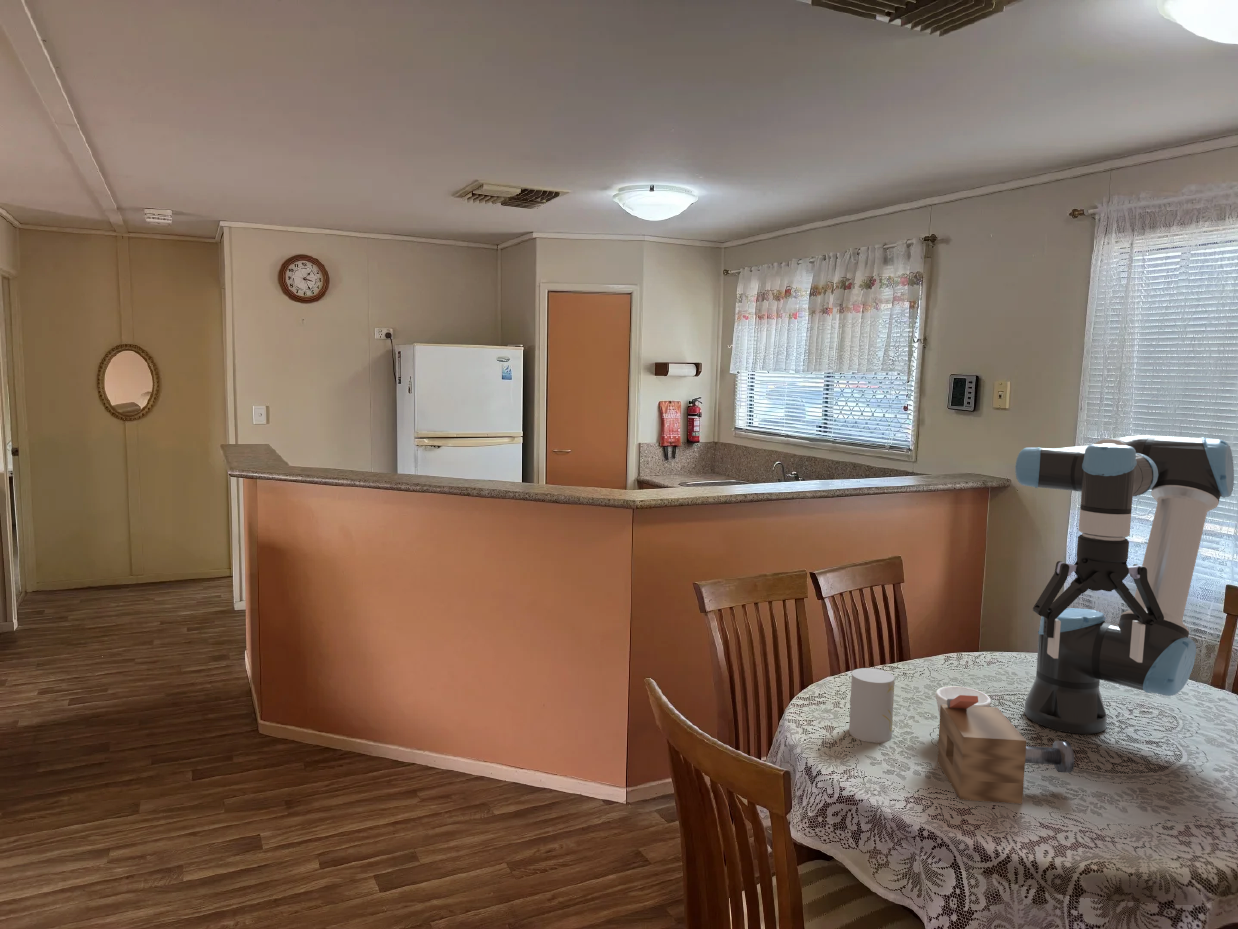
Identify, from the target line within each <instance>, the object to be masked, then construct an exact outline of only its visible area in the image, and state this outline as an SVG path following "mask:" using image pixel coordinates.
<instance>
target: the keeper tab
mask: <svg viewBox="0 0 1238 929" xmlns="http://www.w3.org/2000/svg"><path fill="white" fill-rule="evenodd" d="M977 702H978V696H966V695H959V696H958V697H956V698H954V699H947V706H948V708H960V709H967V708H969V707H970V706H972V705H974V704H976V703H977Z"/></svg>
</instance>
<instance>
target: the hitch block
mask: <svg viewBox="0 0 1238 929" xmlns="http://www.w3.org/2000/svg"><path fill="white" fill-rule="evenodd" d="M1026 746H1027V739H1026V738H1025V737H1024V736H1023V735H1022V734H1021V732H1020V731H1019V730H1018V729H1017V728H1016V727H1015V726H1014V725H1013V723H1012V722H1011V721H1010V720H1009V719H1008V718H1007V717H1006V715H1005V714H1004V713H1003V712H1002V711H1001V710H1000V708H999V707H994V706H990V707H979V706H970V707H969V708H967V709H960V708H948V706H947V705H942V704H941V707H940V716H939V728H938V745H937V762H936V763H937V764H938V765H939V767H940V768H941V770H942V772H943V774H944V776H945V777H946V779H947V781H948V782H949V784H950V786H951V787H952V789H953V790H954V792H955V794H956V796H957V798H958V799H959V800H960V801H970V802H971V801H975V802H989V803H1006V804H1018V805H1019V804H1020V805H1022V804H1023V798H1024V797H1023V795H1024V781H1025V768H1026V763H1025V755H1026Z"/></svg>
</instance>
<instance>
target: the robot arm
mask: <svg viewBox="0 0 1238 929" xmlns="http://www.w3.org/2000/svg"><path fill="white" fill-rule="evenodd" d="M1233 458H1234V456H1233V453H1232V449H1231V446H1230V445H1229V443H1228V442H1227V441H1226V440H1224V439H1218V438H1209V437H1204V436H1201V437H1192V436H1191V437H1190V436H1189V437H1188V436H1171V435H1169V436H1167V435H1153V434H1136V435H1135V434H1134V435H1126V436H1120V437H1113V438H1106V439H1105V438H1104V439H1100V440H1098V441H1096V442H1094V443H1093V444H1089V445H1078V446H1067V447H1065V446H1064V447H1056V448H1055V447H1054V448H1049V447H1048V448H1047V447H1041V446H1038V447H1028V446H1027V447H1024V448H1022V449H1021V450H1020V451H1019V453H1018V455H1017V457H1016V461H1015V467H1014V468H1015V471H1014V472H1015V473H1014V474H1015V477H1016V480H1017V482H1018V483H1019V484H1020V485H1021V486H1025V487H1030V488H1031V487H1032V488H1035V489H1038V488H1039V489H1048V490H1060V491H1061V490H1062V491H1071V492H1072V491H1073V492H1080V493H1081V494H1080V507H1079V518H1078V520H1079V522H1078V531H1079V533H1080V534H1079V536H1077V544H1076V560H1075V562H1074V564H1073V563H1066V562H1064V561H1062V560H1059V561H1057V562H1055V566H1054V567H1055V569H1054V572H1053V575H1052V576H1051V578H1050V580H1049V582H1048V583H1047V585H1046V586H1045V587H1044V590H1042V592H1041V595H1039V598H1038V599H1037V601H1036V602H1035V604H1034V606H1033V607H1032V611H1033V612H1034V613H1036V614H1037V615H1039V616H1040V622H1039V623H1040V624H1039V630H1038V631H1037V635H1038V641H1037V658H1036V673H1035V680H1034V682H1033V684H1032V686H1031V687H1030V690H1029V692H1028V695H1027V697H1026V699H1025V702H1024V710H1023V711H1024V715H1025V716H1026V717H1027V718H1028V719H1030V720H1031V721H1033V722H1034V723H1036V724H1038V725H1040V726H1043V727H1046V728H1048V729H1051V730H1056V731H1059V732H1060V731H1061V732H1065V733H1071V734H1080V735H1081V734H1082V735H1084V734H1085V735H1087V734H1098V733H1101V732H1103V731H1105V730H1106V728H1107V722H1108V721H1107V720H1108V717H1107V712H1106V708H1105V705H1104V701H1103V698H1102V694H1101V691H1100V681H1103V682H1108V683H1111V684H1114V685H1115V684H1116V685H1120V686H1123V687H1127V688H1131V689H1134V690H1135V689H1136V690H1139V691H1143V692H1144V693H1146V694H1157V695H1161V696H1166V697H1171V696H1176V695H1177V694H1178V693H1180V692H1181V691H1182V690H1183V689H1184V688H1185V686H1186V684H1187V683H1188V681H1189V679H1190V676H1191V673H1192V671H1193V669H1194V665H1195V662H1196V659H1195V657H1196V655H1197V644H1196V642H1195V641H1194V640H1193V639H1192V638H1190V637H1189V635H1190V630H1189V629H1188V627H1187V626H1186V625H1185V623H1184V622H1183V619H1184V614H1185V610H1186V605H1187V601H1188V596H1189V592H1190V588H1191V584H1192V580H1193V575H1194V572H1195V567H1196V562H1197V557H1198V554H1199V550H1200V546H1201V545H1200V544H1201V540H1202V535H1203V532H1204V527H1205V523H1206V519H1207V514H1208V512H1209V511H1213V510H1214V509H1216V508H1217V507H1219V502H1220V498H1223V499H1224V498H1225V499H1226V498H1228V497H1229V498H1230V497H1231V496H1232V493H1233V490H1234V484H1235V483H1234V482H1235V481H1234V480H1235V470H1234V469H1235V467H1234V466H1235V465H1234V459H1233ZM1148 491H1151V494H1150V495H1151V497H1152V498H1153V499H1154V501H1155V502H1156V508H1155V513H1154V516H1153V520H1152V524H1151V528H1150V531H1149V532H1150V533H1149V536H1148V540H1147V543H1146V544H1147V545H1146V548H1145V553H1144V556H1143V561H1142V565H1141V564H1138V563H1134V564H1132V565H1129V566H1128V564H1127V562H1128V559H1129V549H1130V541H1129V540H1128V539H1127V538H1128V537H1130V535H1131V522H1132V507H1133V497H1137V496H1141V495H1144V494H1145V493H1147V492H1148ZM1073 572H1074V574H1075V576H1076V577H1075V578H1074V579H1073V580H1072V581H1071V582H1070V585H1069V586H1068V587H1067V588H1065V590H1064V591H1063V592H1062V593H1061V594H1059V593H1060V592H1061V589H1063V587H1064V585H1065V583H1066V581H1067V579H1068V577H1070V576H1071V575H1072V574H1073ZM1127 576H1130V578H1132V579H1133V582H1134V584H1135V587H1136V590H1135V592H1134V595H1133V594H1132V592H1131V590H1130V589H1129V588H1128V586H1127V585H1126V583H1124V580H1125V579H1126V578H1127ZM1088 590H1091V592H1099V591H1104V592H1110V593H1111V592H1113V591H1115V592H1116V593H1117V594H1118V596H1119V598H1121V600H1122V601H1123V602H1124V603H1125V605H1126V606H1127V607H1128V608H1129V609H1128V610H1126V611H1124V612H1122V613H1121V614H1120V617H1119V620H1118V623H1115V622H1113V623H1112V622H1109V621H1106V618H1107V617H1106V616H1105V614H1104V613H1103V612H1101V611H1098V610H1095V609H1089V608H1076V607H1075V608H1073V607H1071V608H1070V606H1071V604H1072V603H1073V602H1075V601H1076V600H1077V599H1078V598H1079V597H1080V595H1082V594H1084V593H1086V592H1087V591H1088ZM1057 596H1058V597H1057ZM1056 597H1057V598H1056Z"/></svg>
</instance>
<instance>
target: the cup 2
mask: <svg viewBox="0 0 1238 929" xmlns="http://www.w3.org/2000/svg"><path fill="white" fill-rule="evenodd" d="M959 695H966V696H978V702H977V703H976V704H974V705H972V706H979V707H991V704H992V699H991V698H990V697H989V695H988V694H986V693H985V692H983V691H980V690H977V689H974V688H971V687H966V686H956V685H954V686H953V685H952V686H951V685H949V686H943V687H940V688H937V689H936V691H935V699H936V700H935V701H936V704H937V710H938V715H939V717H940V707H941V704H942V705H947V699H954V698H956V697H958V696H959Z"/></svg>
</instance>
